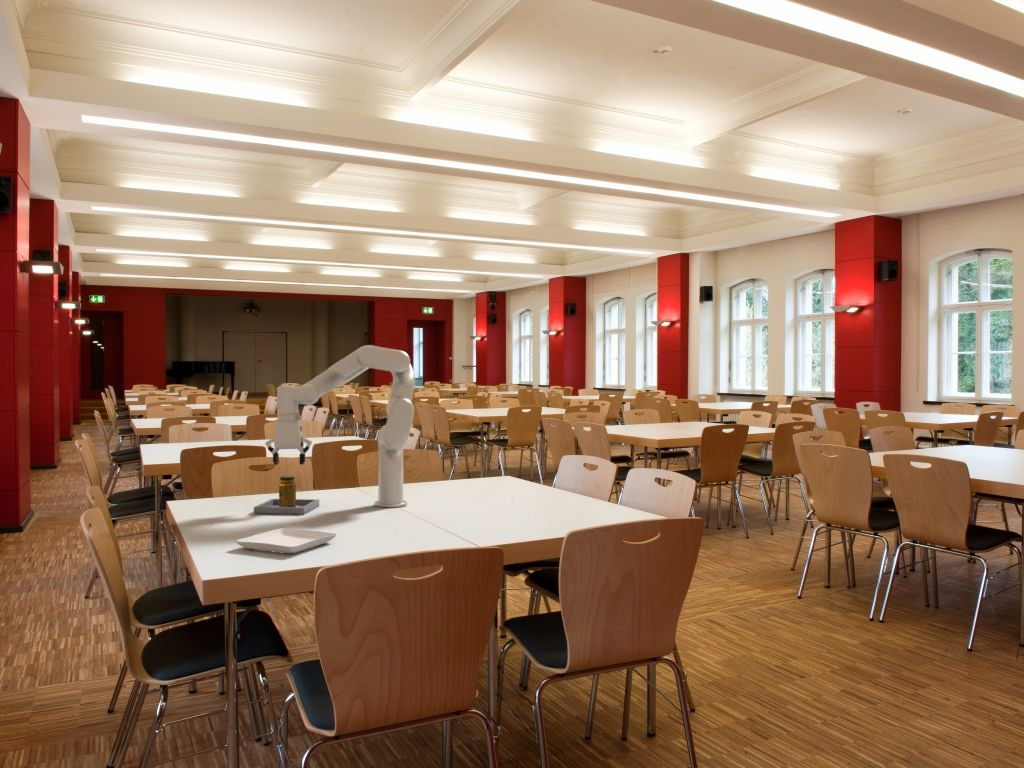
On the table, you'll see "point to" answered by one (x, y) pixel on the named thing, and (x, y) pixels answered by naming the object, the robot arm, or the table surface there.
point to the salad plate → (286, 540)
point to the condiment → (287, 492)
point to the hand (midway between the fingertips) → (289, 464)
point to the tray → (274, 508)
